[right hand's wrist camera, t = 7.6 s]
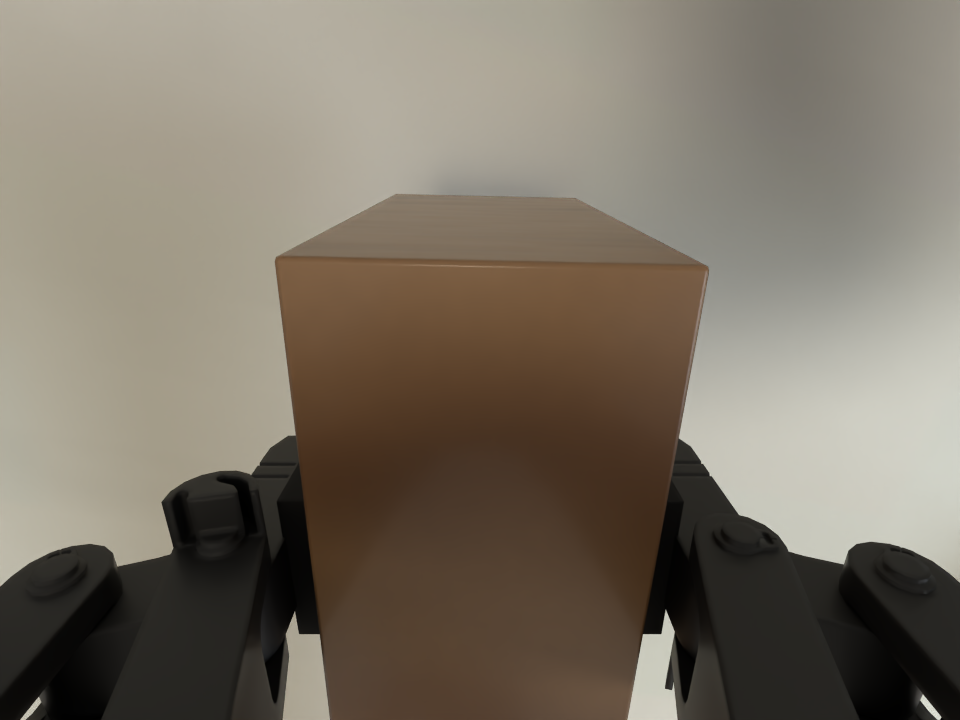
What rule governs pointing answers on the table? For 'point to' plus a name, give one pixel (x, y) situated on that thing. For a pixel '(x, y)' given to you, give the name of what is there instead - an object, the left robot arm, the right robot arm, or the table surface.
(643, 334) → the beam
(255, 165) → the table surface
